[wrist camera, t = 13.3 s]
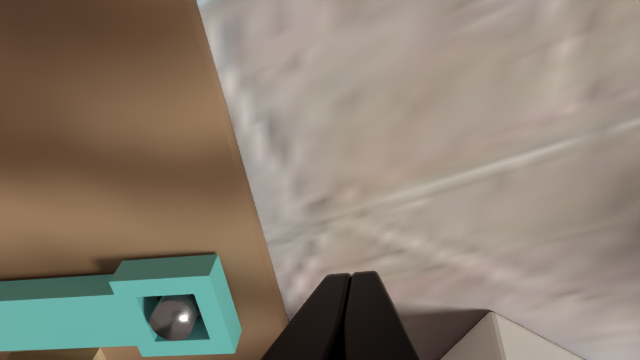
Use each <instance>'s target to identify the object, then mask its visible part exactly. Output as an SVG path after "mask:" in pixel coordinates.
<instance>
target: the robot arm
mask: <svg viewBox="0 0 640 360" xmlns="http://www.w3.org/2000/svg"><path fill="white" fill-rule="evenodd" d="M260 360H422V359H421V357H420V355H419V353H418V351H417V349H416V347H415V345H414V343H413V341H412V339H411V337H410V335H409V334H408V332H407V330H406V328H405V326H404V324H403V322H402V320H401V318H400V316H399V314H398V312H397V310H396V308H395V306H394V304H393V302H392V300H391V298H390V296H389V294H388V292H387V290H386V288H385V286H384V284H383V282H382V280H381V278H380V277H379V275H378V273H377V272H376V271H364V272H355V273H354V274H353V275H351V274H349V273H340V274H330V275H327V276H326V277H325V278H324V279H323V280H322V282H321V283H320V284H319V285H318V287H317V288H316V289H315V291H314V292H313V293H312V294H311V296H310V297H309V298H308V299H307V301H306V302H305V303H304V304H303V306H302V307H301V308H300V309H299V311H298V312H297V313H296V314H295V316H294V317H293V318H292V320H291V321H290V322H289V323H288V325H287V326H286V327H285V328H284V330H283V331H282V332H281V333H280V335H279V336H278V337H277V338H276V340H275V341H274V342H273V344H272V345H271V346H270V347H269V349H268V350H267V351H266V352H265V354H264V355H263V356H262V357H261V359H260Z"/></svg>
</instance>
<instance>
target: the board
mask: <svg viewBox="0 0 640 360" xmlns="http://www.w3.org/2000/svg"><path fill="white" fill-rule="evenodd" d="M214 254H218V255H219V258H220V262H221V265H222V268H223V271H224V274H225V277H226V281H227V284H228V287H229V290H230V293H231V297H232V300H233V303H234V306H235V309H236V313H237V316H238V319H239V322H240V325H241V329H242V332H241V335H240V338H239V342H238V345H237V348H236V351H235V353H234V354H206V355H178V356H151V357H142V355H141V353H140V351H139V349H138V346H119V347H94V348H69V349H44V350H19V351H0V360H260V359H261V357H262V356H263V355H264V354H265V352H266V351H267V350H268V349H269V347H270V346H271V345H272V344H273V342H274V341H275V340H276V338H277V337H278V336H279V335H280V333H281V332H282V331H283V330H284V328H285V327H286V326H287V325H288V323H289V322H288V318H287V315H286V311H285V308H284V304H283V301H282V297H281V294H280V291H279V287H278V284H277V280H276V277H275V273H274V270H273V266H272V263H271V259H270V256H269V252H268V249H267V245H266V242H265V238H264V235H263V231H262V228H261V224H260V221H259V217H258V214H257V210H256V207H255V203H254V200H253V197H252V193H251V190H250V186H249V183H248V179H247V176H246V172H245V169H244V165H243V162H242V158H241V155H240V151H239V148H238V144H237V141H236V137H235V134H234V130H233V127H232V123H231V120H230V116H229V113H228V110H227V106H226V103H225V99H224V96H223V92H222V89H221V85H220V82H219V78H218V75H217V71H216V68H215V64H214V61H213V57H212V54H211V50H210V47H209V43H208V40H207V36H206V33H205V29H204V26H203V23H202V19H201V16H200V12H199V9H198V5H197V2H196V0H0V281H16V280H31V279H47V278H62V277H78V276H93V275H109V274H114V273H115V272H116V270H117V269H118V267H119V265H120V264H121V262H122V261H127V260H141V259H156V258H170V257H185V256H199V255H214ZM156 297H157V299H158V301H159V300H160V298H161V296H156ZM199 317H202V315H201V312H200V311H199V314H198V316H197V318H199Z"/></svg>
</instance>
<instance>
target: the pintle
mask: <svg viewBox="0 0 640 360" xmlns="http://www.w3.org/2000/svg"><path fill="white" fill-rule="evenodd" d="M199 311H200V309H199V307H198V304H197V301H196V298H195V295H194V294H184V295H166V296H161V298H160V300H159V301H158V303H157V305H156V307H155V309H154V311H153V313H152V315H151V317H150V326H151V328H152V330H153V331H154V332H155V333H156V334H157V335H158V336H160V337H162V338H164V339H167V340H171V341H180V340H183V339H185V338H187V337H188V336H189V335H190V333H191V331H192V328H193V326H194V323H195V321H196V319H197V316H198V314H199Z"/></svg>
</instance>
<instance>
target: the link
mask: <svg viewBox="0 0 640 360" xmlns="http://www.w3.org/2000/svg"><path fill="white" fill-rule="evenodd" d="M184 294H194V295H195V298H196V301H197V304H198V307H199V309H200V312H201V315H202V317H199V318H197V319H196V321H195V323H194V326H193V328H192V331H191V333H190V335H189V336H188V337H187V338H185V339H183V340H180V341H171V340H167V339H164V338H162V337H160V336H158V335H157V334H156V333H155V332H154V331H153V330H152V328H151V326H150V317H151V315H152V313H153V311H154V309H155V307H156V305H157V303H158V299H157V297H156V296H166V295H184ZM241 332H242V329H241V325H240V322H239V319H238V316H237V313H236V309H235V306H234V303H233V300H232V297H231V293H230V290H229V287H228V284H227V281H226V277H225V274H224V271H223V268H222V265H221V262H220V258H219V255H218V254H214V255H199V256H185V257H170V258H156V259H141V260H127V261H122V262H121V264H120V265H119V267H118V269H117V270H116V272H115V273H114V274H109V275H93V276H78V277H62V278H47V279H31V280H16V281H0V351H19V350H44V349H69V348H94V347H119V346H138V349H139V351H140V353H141V355H142V357H151V356H178V355H206V354H234V353H235V351H236V348H237V345H238V342H239V338H240V335H241Z"/></svg>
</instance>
